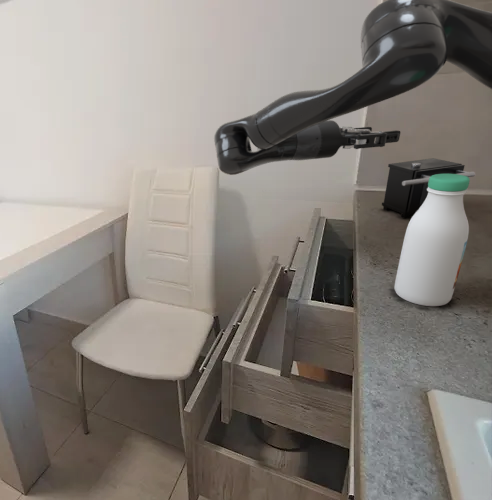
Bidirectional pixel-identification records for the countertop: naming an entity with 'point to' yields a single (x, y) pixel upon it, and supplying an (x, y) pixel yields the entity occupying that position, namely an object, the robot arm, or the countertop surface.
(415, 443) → the countertop surface
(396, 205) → the black box with rod
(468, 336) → the countertop surface
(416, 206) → the oven door
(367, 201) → the countertop surface
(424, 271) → the milk bottle
